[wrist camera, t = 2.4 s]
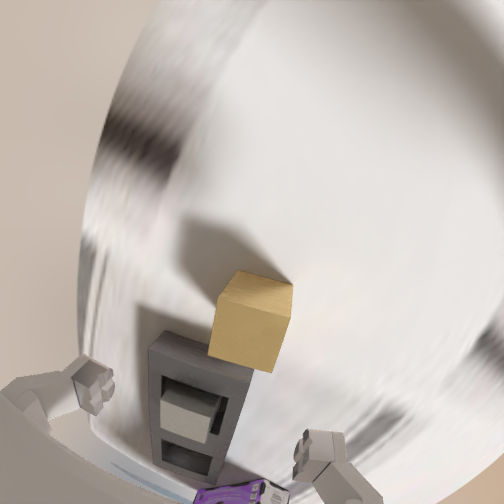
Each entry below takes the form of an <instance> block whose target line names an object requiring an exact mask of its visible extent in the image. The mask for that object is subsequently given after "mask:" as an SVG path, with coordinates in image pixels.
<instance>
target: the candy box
mask: <svg viewBox="0 0 504 504" xmlns="http://www.w3.org/2000/svg"><path fill="white" fill-rule="evenodd" d="M289 497H290V492H287V491H286V490H284V489H282V488H280V487H278V486H276V485H275V484H273V483H271V482H270V481H268V480H266V479H261V480H256V481H252V482H248V483H242V484H237V485H230V486H224V487H217V488H210V489H201V490H198V491H197V494H196V497H195V499H194V502H193V504H289Z"/></svg>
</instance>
